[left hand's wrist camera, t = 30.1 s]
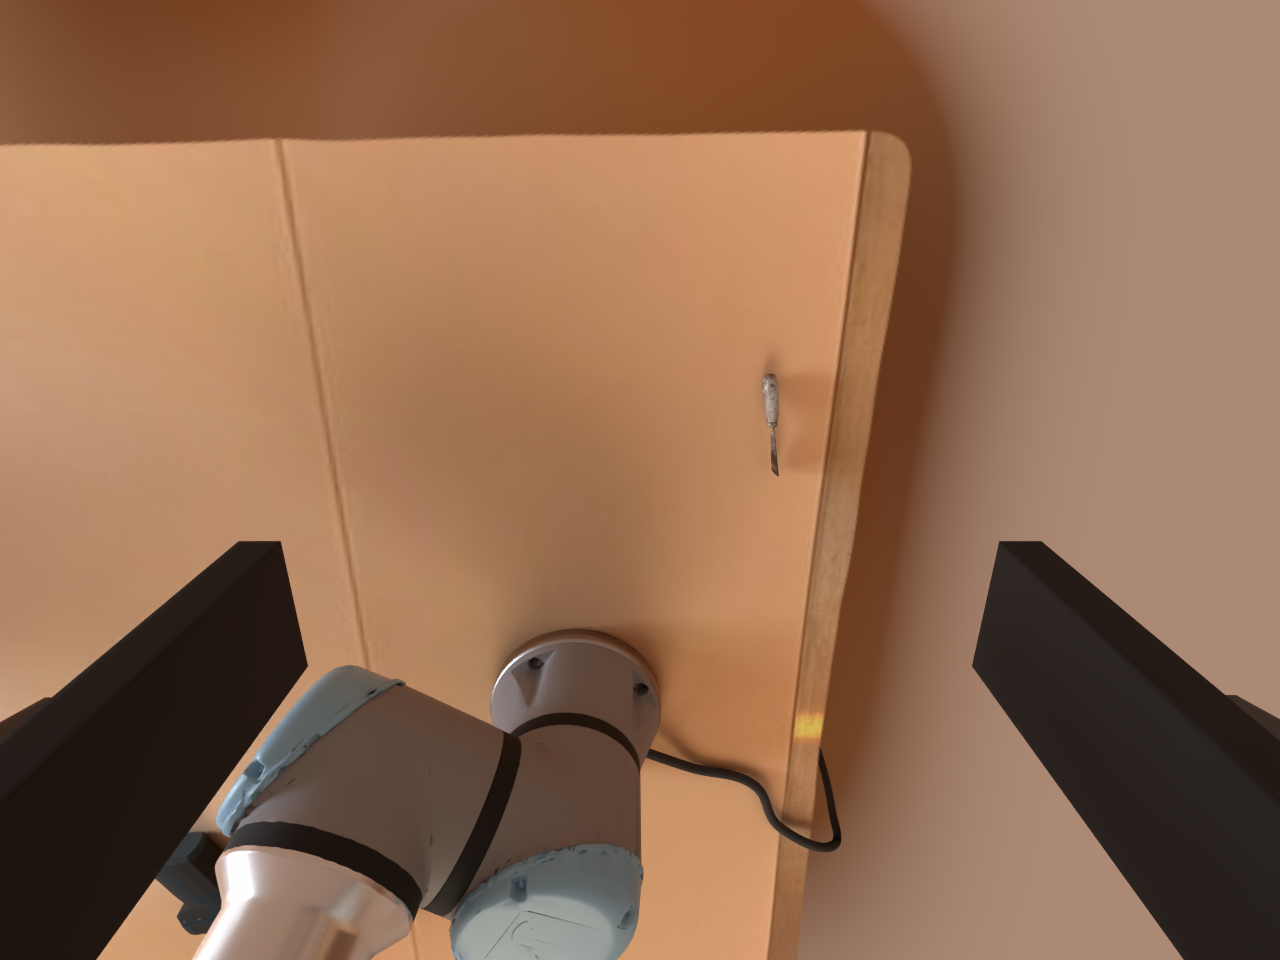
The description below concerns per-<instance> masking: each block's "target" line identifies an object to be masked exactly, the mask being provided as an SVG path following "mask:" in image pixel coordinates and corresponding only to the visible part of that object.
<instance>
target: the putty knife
mask: <svg viewBox="0 0 1280 960" xmlns="http://www.w3.org/2000/svg"><path fill="white" fill-rule="evenodd" d="M763 396H764V405H765V414H766V420H767V424H768V426H769V427H771V464H772V471H773V472H774V473H775V474H776V475H777V476H779V474H778V464H777V453H776V443H775V434H774V427H776V426H777V422H778V404H779V400H778V383H777V378H776V376H775V375H774V374H767V375H765V376H764V378H763Z"/></svg>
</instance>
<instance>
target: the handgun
mask: <svg viewBox="0 0 1280 960" xmlns="http://www.w3.org/2000/svg"><path fill="white" fill-rule="evenodd" d="M221 854H222V853H221V852H220V851H219V850H218V849H217V848H216V847H215V846H214V845H213V844H212V843H211V842H210V841H209V840H208V839H207V838H206V837H205V834H204V833H187V834H186V836H185V837H184V839H183V840H182V841H181V843H180V844H179V846H178V847H177V848H176V850H175V851H174V852H173V854H172V855H171V857H170V858H169V859H168V861H167V862H166V864H165V865H164V866H163V868H162V869H161V871H160V872H159V873H158V875H157V876H156V877H155V879H156V880H158V881H159V882H160V883H161V884H162V885H163V886H164V887H165V888H166V889H168V890H169V891H170V892H171V893H172V894H173V895H174V896H176V897H177V898H178V899H179V900H181V901H182V902H183V903H184V904H183V906H182V908H181V910H180V911H179V913H178V915H177V918H178V920H179V921H180V923H181V925H182V927H183V928H184V929H185V930H186V931H187V932H189V933H190V934H193V935H198V934H204V933H205V934H207V932H208V930H209V929H210V927H211V925H212V924H213V922H214V920H215V918H216V917H217V915H218V913H219V912H220V910H221V904H222V900H221V896H220V891H219V887H218V882H217V878H216V873H215V865H216V862H217V860H218V859H219V857H220V855H221Z"/></svg>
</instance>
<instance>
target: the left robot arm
mask: <svg viewBox="0 0 1280 960" xmlns="http://www.w3.org/2000/svg"><path fill="white" fill-rule="evenodd" d="M307 667H308V664H307V660H306V655H305V651H304V646H303V641H302V637H301V632H300V628H299V623H298V619H297V614H296V609H295V605H294V600H293V596H292V591H291V586H290V582H289V577H288V573H287V568H286V564H285V559H284V554H283V550H282V545H281V541H238V542H237V543H236V544H235V545H234V546H232V547H231V548H230V549H229V550H228V551H227V552H225V553H224V554H223V555H222V556H221V557H219V558H218V559H217V560H216V561H215V562H213V563H212V564H211V565H210V566H209V567H207V568H206V569H205V570H204V571H203V572H201V573H200V574H199V575H198V576H197V577H195V578H194V579H193V580H192V581H191V582H189V583H188V584H187V585H186V586H185V587H183V588H182V589H181V590H180V591H179V592H177V593H176V594H175V595H174V596H173V597H171V598H170V599H169V600H168V601H167V602H166V603H164V604H163V605H162V606H161V607H160V608H158V609H157V610H156V611H155V612H154V613H152V614H151V615H150V616H149V617H148V618H146V619H145V620H144V621H143V622H142V623H140V624H139V625H138V626H137V627H136V628H134V629H133V630H132V631H131V632H130V633H128V634H127V635H126V636H125V637H124V638H122V639H121V640H120V641H119V642H118V643H116V644H115V645H114V646H113V647H112V648H111V649H109V650H108V651H107V652H106V653H105V654H103V655H102V656H101V657H100V658H99V659H97V660H96V661H95V662H94V663H93V664H91V665H90V666H89V667H88V668H87V669H85V670H84V671H83V672H82V673H81V674H79V675H78V676H77V677H76V678H75V679H73V680H72V681H71V682H70V683H69V684H67V685H66V686H65V687H64V688H63V689H61V690H60V691H59V692H58V693H57V694H55V695H54V696H53V697H52V698H43V699H41V700H40V701H38V702H36V703H34V704H32V705H31V706H29V707H27V708H25V709H23V710H22V711H20V712H18V713H16V714H14V715H13V716H11V717H9V718H7V719H5V720H3V721H2V722H0V960H96V959H97V958H98V956H99V955H100V954H101V952H102V951H103V950H104V948H105V947H106V945H107V944H108V943H109V941H110V940H111V938H112V937H113V936H114V934H115V933H116V932H117V930H118V929H119V927H120V926H121V925H122V923H123V922H124V920H125V919H126V918H127V916H128V915H129V913H130V912H131V911H132V909H133V908H134V907H135V905H136V904H137V902H138V901H139V900H140V898H141V897H142V895H143V894H144V893H145V891H146V890H147V889H148V887H149V886H150V884H151V883H152V882H153V880H154V879H155V877H156V876H157V875H158V873H159V872H160V871H161V869H162V868H163V866H164V865H165V864H166V862H167V861H168V859H169V858H170V857H171V855H172V854H173V852H174V851H175V850H176V848H177V847H178V846H179V844H180V843H181V841H182V840H183V839H184V837H185V836H186V834H187V833H188V832H189V830H190V829H191V828H192V826H193V825H194V823H195V822H196V821H197V819H198V818H199V816H200V815H201V814H202V812H203V811H204V810H205V808H206V807H207V805H208V804H209V803H210V801H211V800H212V798H213V797H214V796H215V794H216V793H217V791H218V790H219V789H220V787H221V786H222V785H223V783H224V782H225V780H226V779H227V778H228V776H229V775H230V773H231V772H232V771H233V769H234V768H235V767H236V765H237V764H238V762H239V761H240V760H241V758H242V757H243V755H244V754H245V753H246V751H247V750H248V749H249V747H250V746H251V744H252V743H253V742H254V740H255V739H256V737H257V736H258V735H259V733H260V732H261V730H262V729H263V728H264V726H265V725H266V724H267V722H268V721H269V719H270V718H271V717H272V715H273V714H274V712H275V711H276V710H277V708H278V707H279V706H280V704H281V703H282V701H283V700H284V699H285V697H286V696H287V694H288V693H289V692H290V690H291V689H292V688H293V686H294V685H295V683H296V682H297V681H298V679H299V678H300V676H301V675H302V674H303V672H304V671H305V669H306V668H307ZM972 667H973V668H974V669H975V671H976V672H977V674H978V675H979V676H980V678H981V679H982V681H983V682H984V683H985V685H986V686H987V688H988V689H989V690H990V692H991V693H992V694H993V696H994V697H995V699H996V700H997V701H998V703H999V704H1000V706H1001V707H1002V708H1003V710H1004V711H1005V712H1006V714H1007V715H1008V717H1009V718H1010V719H1011V721H1012V722H1013V724H1014V725H1015V726H1016V728H1017V729H1018V730H1019V732H1020V733H1021V735H1022V736H1023V737H1024V739H1025V740H1026V742H1027V743H1028V744H1029V746H1030V747H1031V748H1032V750H1033V751H1034V753H1035V754H1036V755H1037V757H1038V758H1039V760H1040V761H1041V762H1042V764H1043V765H1044V767H1045V768H1046V769H1047V771H1048V772H1049V773H1050V775H1051V776H1052V778H1053V779H1054V780H1055V782H1056V783H1057V784H1058V786H1059V787H1060V789H1061V790H1062V791H1063V793H1064V794H1065V796H1066V797H1067V798H1068V800H1069V801H1070V803H1071V804H1072V805H1073V807H1074V808H1075V809H1076V811H1077V812H1078V814H1079V815H1080V816H1081V818H1082V819H1083V821H1084V822H1085V823H1086V825H1087V826H1088V828H1089V829H1090V830H1091V832H1092V833H1093V834H1094V836H1095V837H1096V839H1097V840H1098V841H1099V843H1100V844H1101V846H1102V847H1103V848H1104V850H1105V851H1106V852H1107V854H1108V855H1109V857H1110V858H1111V859H1112V861H1113V862H1114V864H1115V865H1116V866H1117V868H1118V869H1119V871H1120V872H1121V873H1122V875H1123V876H1124V877H1125V879H1126V880H1127V882H1128V883H1129V884H1130V886H1131V887H1132V889H1133V890H1134V891H1135V893H1136V894H1137V895H1138V897H1139V898H1140V900H1141V901H1142V902H1143V904H1144V905H1145V907H1146V908H1147V909H1148V911H1149V912H1150V913H1151V915H1152V916H1153V918H1154V919H1155V920H1156V922H1157V923H1158V924H1159V926H1160V927H1161V929H1162V930H1163V931H1164V933H1165V934H1166V936H1167V937H1168V938H1169V940H1170V941H1171V942H1172V944H1173V945H1174V947H1175V948H1176V950H1177V951H1178V952H1179V954H1180V955H1181V956H1182V958H1183V959H1184V960H1280V719H1278V718H1277V717H1275V716H1273V715H1271V714H1269V713H1267V712H1266V711H1264V710H1262V709H1260V708H1258V707H1257V706H1255V705H1253V704H1251V703H1249V702H1247V701H1246V700H1244V699H1242V698H1240V697H1238V696H1237V695H1225V694H1223V693H1222V692H1221V691H1220V690H1219V689H1217V688H1216V687H1215V686H1214V685H1213V684H1211V683H1210V682H1209V681H1208V680H1207V679H1205V678H1204V677H1203V676H1202V675H1201V674H1199V673H1198V672H1197V671H1196V670H1195V669H1193V668H1192V667H1191V666H1190V665H1189V664H1187V663H1186V662H1185V661H1184V660H1183V659H1181V658H1180V657H1179V656H1178V655H1177V654H1175V653H1174V652H1173V651H1172V650H1171V649H1169V648H1168V647H1167V646H1166V645H1165V644H1164V643H1162V642H1161V641H1160V640H1159V639H1158V638H1156V637H1155V636H1154V635H1153V634H1152V633H1150V632H1149V631H1148V630H1147V629H1146V628H1144V627H1143V626H1142V625H1141V624H1140V623H1138V622H1137V621H1136V620H1135V619H1134V618H1132V617H1131V616H1130V615H1129V614H1128V613H1126V612H1125V611H1124V610H1123V609H1122V608H1120V607H1119V606H1118V605H1117V604H1116V603H1114V602H1113V601H1112V600H1111V599H1110V598H1109V597H1107V596H1106V595H1105V594H1104V593H1102V592H1101V591H1100V590H1099V589H1098V588H1097V587H1095V586H1094V585H1093V584H1092V583H1091V582H1089V581H1088V580H1087V579H1086V578H1085V577H1083V576H1082V575H1081V574H1080V573H1079V572H1077V571H1076V570H1075V569H1074V568H1073V567H1071V566H1070V565H1069V564H1068V563H1067V562H1065V561H1064V560H1063V559H1062V558H1061V557H1059V556H1058V555H1057V554H1056V553H1055V552H1053V551H1052V550H1051V549H1050V548H1049V547H1047V546H1046V545H1045V544H1044V543H1043V542H1041V541H999V545H998V550H997V554H996V559H995V564H994V568H993V573H992V578H991V582H990V587H989V591H988V596H987V600H986V605H985V609H984V614H983V619H982V623H981V628H980V632H979V637H978V642H977V646H976V651H975V655H974V660H973V664H972ZM660 715H661V708H660V691H659V686H658V683H657V679H656V677H655V675H654V673H653V671H652V669H651V667H650V666H649V665H648V663H647V662H646V661H645V660H644V658H643V657H642V656H641V655H640V654H639V653H637V652H636V651H635V650H634V649H633V648H631V647H630V646H628V645H627V644H625V643H624V642H622V641H620V640H618V639H616V638H613V637H611V636H608V635H605V634H602V633H598V632H593V631H586V630H562V631H556V632H551V633H547V634H544V635H541V636H539V637H536V638H534V639H532V640H530V641H528V642H526V643H525V644H523V645H522V646H520V647H519V648H518V649H517V650H515V651H514V652H513V653H512V654H511V655H510V656H509V658H508V659H507V660H506V661H505V663H504V664H503V666H502V668H501V670H500V672H499V674H498V677H497V680H496V683H495V686H494V689H493V693H492V697H491V717H492V723H493V725H490V724H488V723H486V722H484V721H482V720H480V719H477V718H475V717H473V716H471V715H469V714H467V713H464V712H462V711H460V710H458V709H456V708H454V707H451V706H449V705H447V704H445V703H443V702H441V701H438V700H436V699H434V698H432V697H430V696H427V695H425V694H423V693H421V692H419V691H417V690H414V689H412V688H410V687H408V686H406V685H405V682H404V681H402V680H399V679H393V680H391V679H389V678H386V677H384V676H381V675H379V674H376V673H374V672H371V671H369V670H366V669H364V668H361V667H358V666H351V665H348V666H342V667H339V668H336V669H334V670H332V671H330V672H329V673H327V674H325V675H324V676H323V677H322V678H320V679H319V680H318V681H317V682H316V683H315V684H314V685H313V686H312V687H311V688H310V689H309V690H308V691H307V692H306V693H305V694H304V695H303V696H302V697H301V698H300V699H299V700H298V702H297V703H296V704H295V705H294V706H293V707H292V708H291V710H290V711H289V712H288V713H287V714H286V716H285V717H284V718H283V719H282V720H281V722H280V723H279V724H278V725H277V727H276V728H275V729H274V730H273V732H272V733H271V734H270V735H269V737H268V738H267V739H266V741H265V742H264V743H263V745H262V746H261V747H260V749H259V750H258V751H257V753H256V754H255V757H254V760H253V762H251V763H250V764H249V765H248V766H247V768H246V769H245V771H244V772H243V773H242V774H241V776H240V777H239V778H238V779H237V781H236V782H235V784H234V785H233V786H232V788H231V790H230V791H229V793H228V794H227V796H226V798H225V799H224V801H223V803H222V805H221V807H220V809H219V811H218V814H217V817H216V825H217V827H218V828H220V829H221V830H222V833H223V834H224V835H225V836H227V837H230V838H231V839H230V841H229V843H228V844H227V846H226V847H225V849H224V851H223V852H222V854H221V855H220V857H219V859H218V860H217V862H216V865H215V873H216V878H217V882H218V887H219V891H220V896H221V900H222V904H221V910H220V912H219V913H218V915H217V917H216V918H215V920H214V922H213V924H212V925H211V927H210V929H209V930H208V932H207V934H206V935H205V937H204V939H203V941H202V942H201V944H200V946H199V947H198V949H197V951H196V952H195V954H194V956H193V958H192V959H191V960H371V959H372V958H373V957H374V956H375V955H376V954H378V953H380V952H381V951H383V950H385V949H386V948H388V947H390V946H391V945H393V944H395V943H396V942H398V941H400V940H401V939H403V938H404V937H406V936H407V935H408V933H409V932H410V929H411V927H412V924H413V922H414V919H415V916H416V914H417V911H418V909H419V908H421V909H424V910H427V911H429V912H432V913H434V914H437V915H439V916H441V917H444V918H446V919H449V920H451V926H450V930H449V932H450V938H451V948H452V952H453V956H454V957H455V959H456V960H617V959H618V958H619V957H620V956H621V954H622V953H623V952H624V951H625V949H626V948H627V947H628V945H629V943H630V941H631V940H632V938H633V935H634V933H635V930H636V927H637V922H638V916H639V904H640V893H641V886H642V880H643V873H644V872H643V867H642V864H641V800H640V769H641V767H642V765H643V763H644V760H645V758H648V759H651V760H654V761H657V762H660V763H663V764H666V765H669V766H672V767H675V768H678V769H681V770H684V771H688V772H691V773H695V774H699V775H704V776H710V777H717V778H724V779H729V780H733V781H737V782H739V783H742V784H744V785H746V786H748V787H749V788H751V789H752V790H753V791H754V792H755V793H756V794H757V795H758V797H759V798H760V800H761V803H762V806H763V809H764V812H765V814H766V817H767V819H768V821H769V822H770V824H771V825H772V826H773V827H774V828H775V829H776V830H777V831H778V832H779V833H781V834H782V835H784V836H785V837H787V838H788V839H790V840H792V841H793V842H795V843H797V844H799V845H801V846H803V847H805V848H808V849H810V850H814V851H818V852H831V851H834V850H836V849H837V848H838V847H839V846H840V844H841V829H840V825H839V821H838V817H837V813H836V807H835V801H834V796H833V791H832V787H831V782H830V778H829V774H828V770H827V767H826V763H825V760H824V757H823V753H822V750H821V747H820V746H819V753H818V765H819V769H820V773H821V776H822V781H823V785H824V790H825V795H826V800H827V806H828V813H829V818H830V822H831V826H832V831H833V839H832V841H830V842H827V843H820V842H816V841H812V840H810V839H807V838H805V837H803V836H801V835H799V834H797V833H796V832H794V831H792V830H791V829H789V828H788V827H786V826H785V825H784V824H782V823H781V822H780V821H779V820H778V819H777V817H776V816H775V814H774V812H773V809H772V806H771V803H770V800H769V797H768V795H767V793H766V791H765V790H764V788H763V787H762V786H761V785H760V784H759V783H758V782H757V781H755V780H754V779H752V778H751V777H749V776H747V775H745V774H742V773H739V772H736V771H731V770H726V769H720V768H713V767H707V766H702V765H698V764H694V763H690V762H687V761H684V760H681V759H678V758H675V757H672V756H670V755H667V754H664V753H661V752H658V751H655V750H652V749H650V746H651V744H652V742H653V739H654V737H655V735H656V733H657V730H658V727H659V723H660Z"/></svg>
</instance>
